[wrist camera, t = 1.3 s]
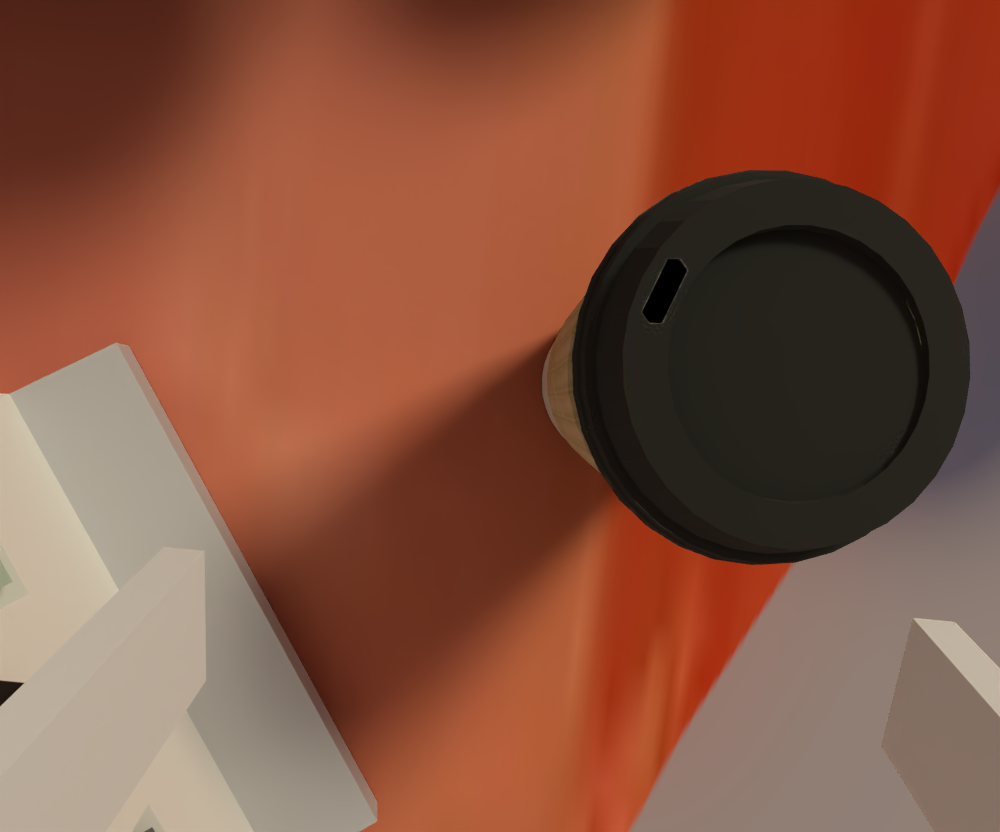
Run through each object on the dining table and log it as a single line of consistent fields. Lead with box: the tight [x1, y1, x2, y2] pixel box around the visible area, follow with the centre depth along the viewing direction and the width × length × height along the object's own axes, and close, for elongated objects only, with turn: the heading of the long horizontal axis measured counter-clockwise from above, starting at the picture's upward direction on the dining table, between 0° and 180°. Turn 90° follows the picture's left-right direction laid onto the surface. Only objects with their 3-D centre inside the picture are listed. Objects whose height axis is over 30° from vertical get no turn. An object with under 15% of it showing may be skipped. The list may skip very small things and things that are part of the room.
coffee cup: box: [542, 170, 970, 565], centre depth 26 cm, size 10×10×15 cm
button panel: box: [0, 343, 377, 832], centre depth 22 cm, size 20×6×18 cm, turn 28°
